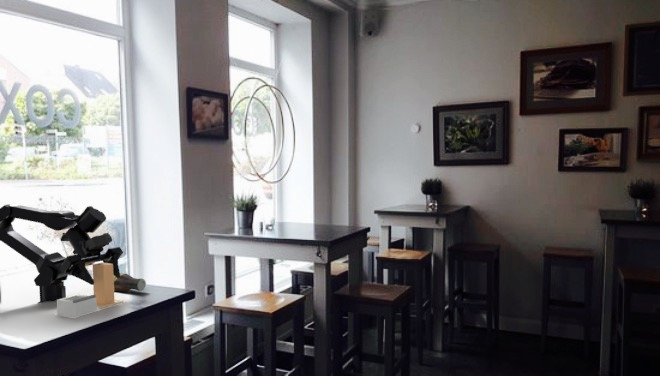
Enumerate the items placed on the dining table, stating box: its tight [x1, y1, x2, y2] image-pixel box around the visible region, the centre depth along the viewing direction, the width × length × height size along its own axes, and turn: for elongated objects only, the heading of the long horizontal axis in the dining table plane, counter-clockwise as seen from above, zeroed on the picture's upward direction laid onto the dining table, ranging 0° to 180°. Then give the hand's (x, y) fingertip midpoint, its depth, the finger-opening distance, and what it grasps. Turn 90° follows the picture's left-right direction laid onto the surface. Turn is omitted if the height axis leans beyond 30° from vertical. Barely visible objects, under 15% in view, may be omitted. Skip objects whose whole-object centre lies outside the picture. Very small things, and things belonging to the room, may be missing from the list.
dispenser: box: [53, 293, 126, 319], centre depth 149 cm, size 9×18×6 cm, turn 152°
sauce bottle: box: [113, 272, 147, 293], centre depth 172 cm, size 6×6×20 cm
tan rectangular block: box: [92, 262, 115, 305], centre depth 153 cm, size 5×3×12 cm
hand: (106, 280), depth 152 cm, fingers open, 9 cm apart
